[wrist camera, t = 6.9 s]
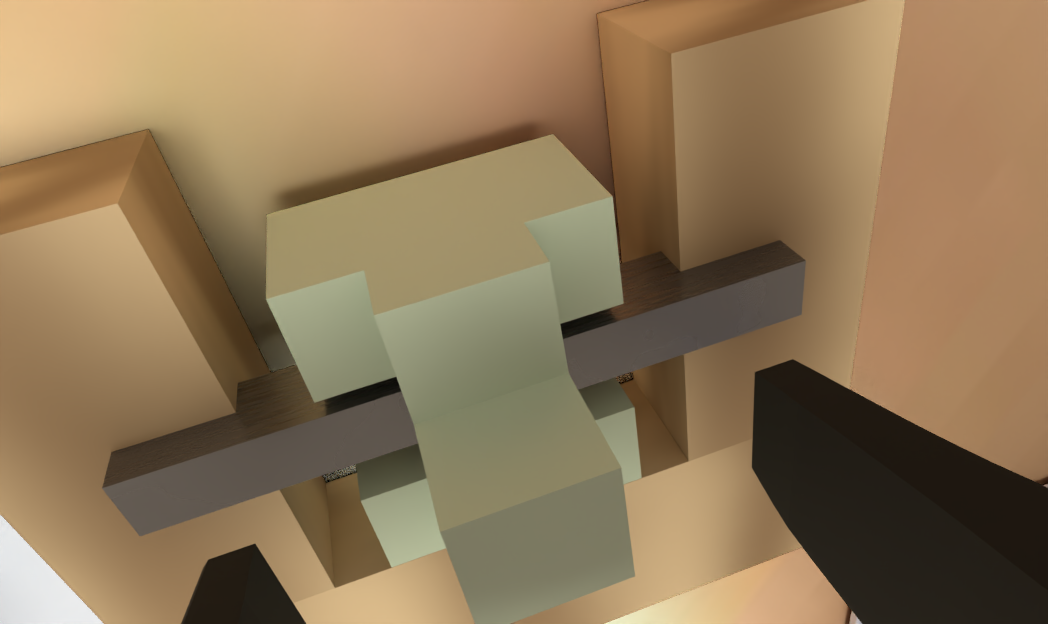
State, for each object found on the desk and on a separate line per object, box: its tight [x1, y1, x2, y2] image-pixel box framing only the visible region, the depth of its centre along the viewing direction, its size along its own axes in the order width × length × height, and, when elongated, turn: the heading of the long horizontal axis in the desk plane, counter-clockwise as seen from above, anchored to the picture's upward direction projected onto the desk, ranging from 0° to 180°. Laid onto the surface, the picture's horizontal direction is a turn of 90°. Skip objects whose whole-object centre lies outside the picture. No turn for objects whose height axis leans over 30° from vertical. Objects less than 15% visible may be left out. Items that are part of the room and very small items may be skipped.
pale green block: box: [266, 134, 642, 624], centre depth 12 cm, size 5×6×6 cm
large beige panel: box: [0, 0, 905, 624], centre depth 15 cm, size 16×14×4 cm
